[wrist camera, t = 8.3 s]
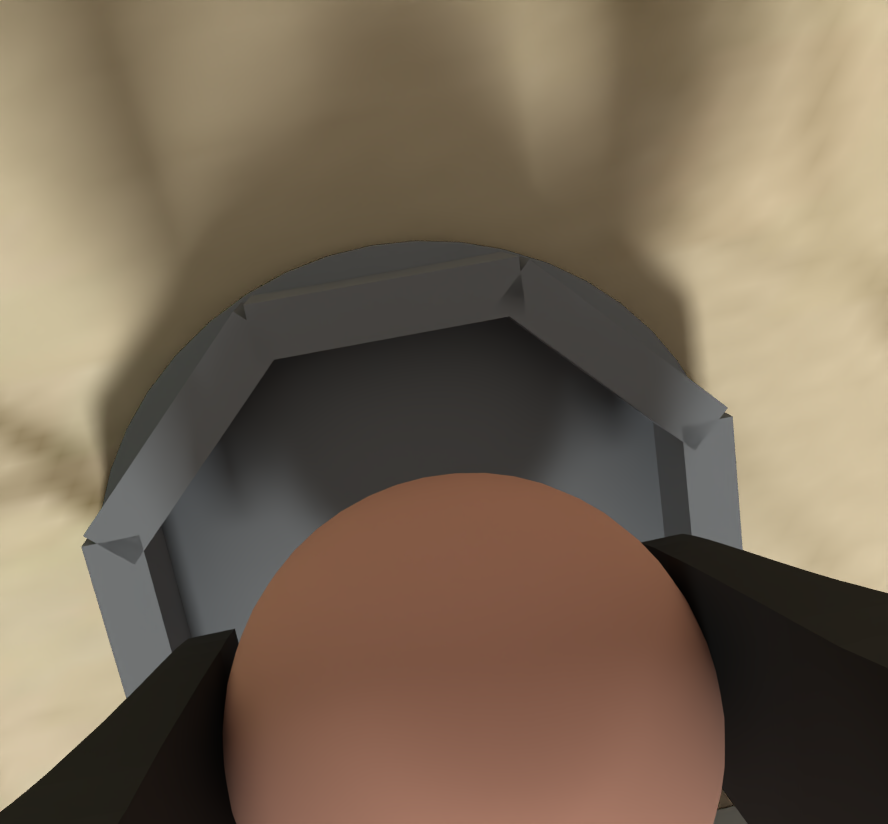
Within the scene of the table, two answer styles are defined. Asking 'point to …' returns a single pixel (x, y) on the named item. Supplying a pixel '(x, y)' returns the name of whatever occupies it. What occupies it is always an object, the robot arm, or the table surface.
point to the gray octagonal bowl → (389, 426)
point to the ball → (473, 670)
